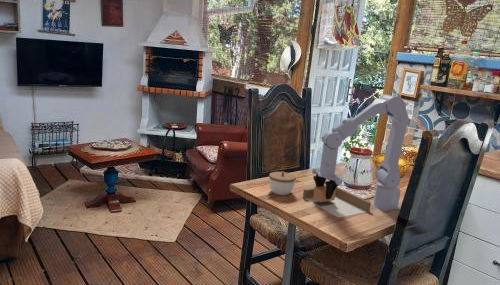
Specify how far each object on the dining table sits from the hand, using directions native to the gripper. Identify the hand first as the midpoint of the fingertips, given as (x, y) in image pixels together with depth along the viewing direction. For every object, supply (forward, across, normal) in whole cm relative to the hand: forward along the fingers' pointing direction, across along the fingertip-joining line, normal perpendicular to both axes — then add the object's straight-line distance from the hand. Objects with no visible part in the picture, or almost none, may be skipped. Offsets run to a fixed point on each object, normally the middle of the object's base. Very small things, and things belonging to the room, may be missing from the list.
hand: (323, 196), depth 145 cm
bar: (+1, 0, 0) cm, 1 cm away
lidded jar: (+3, -15, -10) cm, 18 cm away
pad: (+3, 0, 0) cm, 3 cm away
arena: (+3, +3, +4) cm, 6 cm away
